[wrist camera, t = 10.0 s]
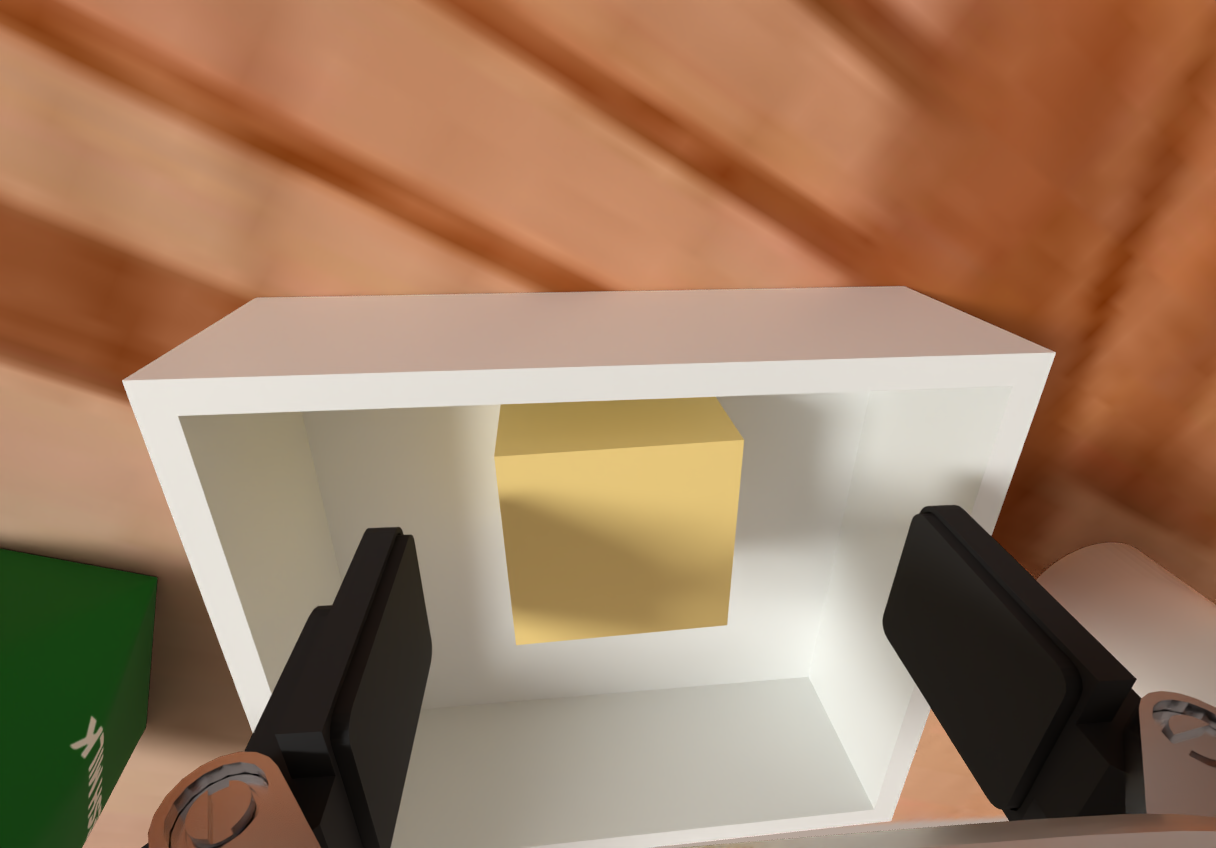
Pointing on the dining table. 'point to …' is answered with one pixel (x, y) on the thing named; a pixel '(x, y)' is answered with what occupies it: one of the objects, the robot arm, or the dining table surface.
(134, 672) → the milk carton
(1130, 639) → the white canister
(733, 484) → the mustard block
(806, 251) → the dining table surface
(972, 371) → the tote
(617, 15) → the dining table surface
